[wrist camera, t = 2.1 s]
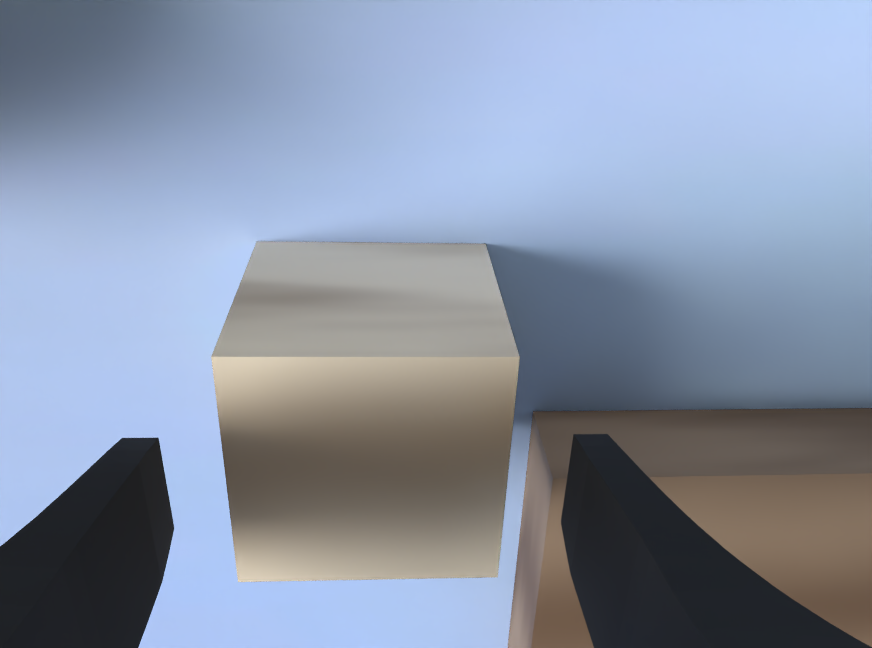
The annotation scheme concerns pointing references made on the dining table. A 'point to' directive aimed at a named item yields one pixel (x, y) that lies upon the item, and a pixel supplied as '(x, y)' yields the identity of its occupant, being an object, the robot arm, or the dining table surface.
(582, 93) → the dining table surface
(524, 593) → the walnut block
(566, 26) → the dining table surface
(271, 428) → the maple block
